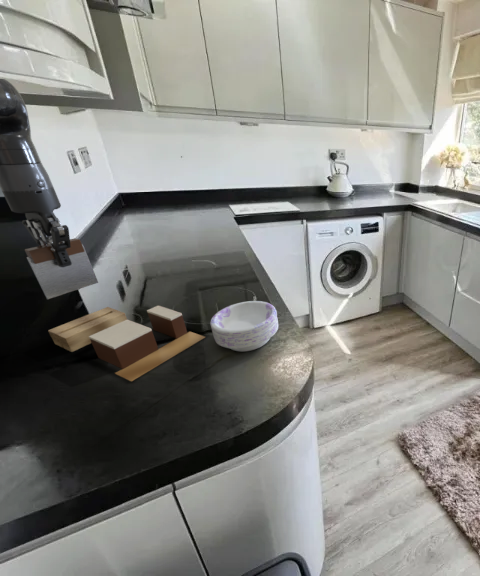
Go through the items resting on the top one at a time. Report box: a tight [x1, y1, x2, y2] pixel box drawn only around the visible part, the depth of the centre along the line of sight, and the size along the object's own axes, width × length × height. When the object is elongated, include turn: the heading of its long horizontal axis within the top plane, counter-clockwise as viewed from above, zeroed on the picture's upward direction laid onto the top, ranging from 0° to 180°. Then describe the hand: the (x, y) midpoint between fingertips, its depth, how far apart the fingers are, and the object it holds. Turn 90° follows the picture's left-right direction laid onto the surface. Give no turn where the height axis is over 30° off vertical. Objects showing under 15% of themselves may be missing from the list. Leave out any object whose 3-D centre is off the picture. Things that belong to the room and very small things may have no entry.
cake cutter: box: [24, 237, 99, 300], centre depth 74 cm, size 10×2×12 cm, turn 156°
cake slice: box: [146, 305, 188, 339], centre depth 83 cm, size 9×3×6 cm, turn 66°
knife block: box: [47, 306, 128, 353], centre depth 82 cm, size 13×7×5 cm, turn 156°
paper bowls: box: [209, 300, 279, 352], centre depth 81 cm, size 15×15×8 cm
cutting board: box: [114, 331, 206, 382], centre depth 79 cm, size 20×18×1 cm
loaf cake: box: [89, 319, 159, 370], centre depth 74 cm, size 9×8×6 cm
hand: (62, 264), depth 74 cm, fingers closed on cake cutter, 2 cm apart
